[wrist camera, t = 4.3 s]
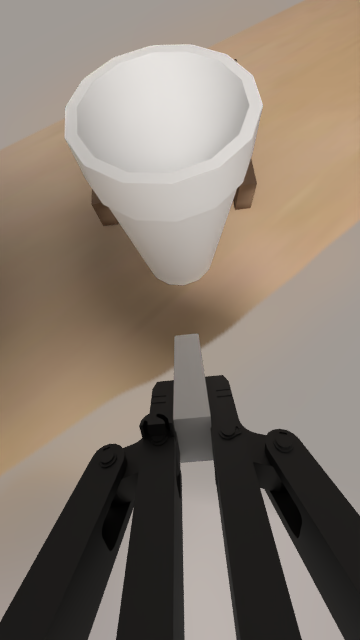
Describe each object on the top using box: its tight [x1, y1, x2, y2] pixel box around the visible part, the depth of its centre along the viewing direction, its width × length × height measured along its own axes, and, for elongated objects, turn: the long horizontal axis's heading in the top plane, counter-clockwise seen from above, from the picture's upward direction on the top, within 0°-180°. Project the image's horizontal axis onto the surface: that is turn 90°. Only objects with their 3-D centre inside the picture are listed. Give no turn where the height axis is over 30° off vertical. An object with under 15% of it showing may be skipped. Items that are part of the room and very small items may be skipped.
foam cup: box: [65, 44, 263, 285], centre depth 18 cm, size 10×9×13 cm
